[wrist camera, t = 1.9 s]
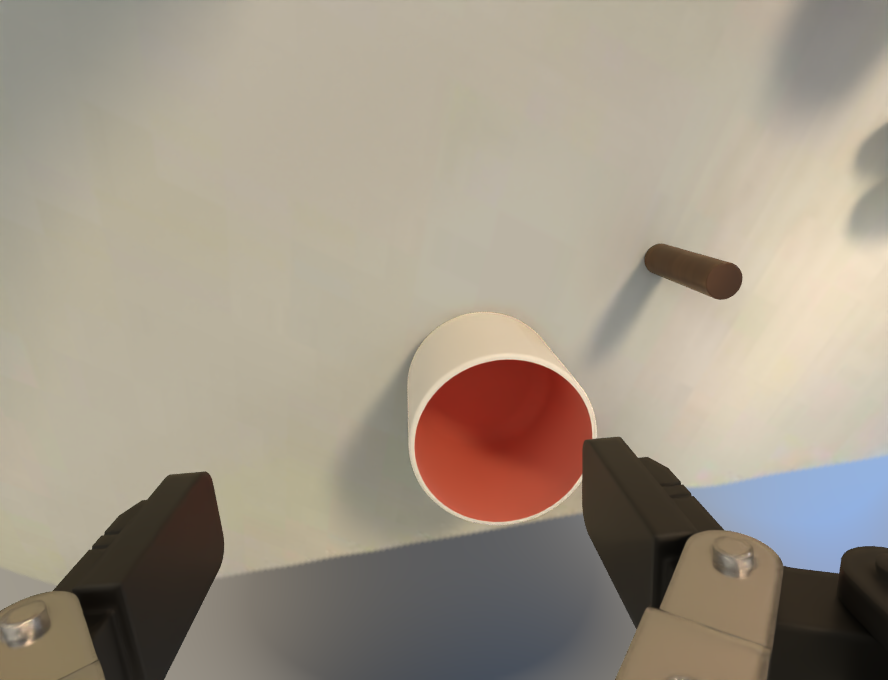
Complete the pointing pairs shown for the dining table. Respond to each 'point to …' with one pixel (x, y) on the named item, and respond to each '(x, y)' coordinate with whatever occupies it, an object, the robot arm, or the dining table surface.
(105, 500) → the dining table surface
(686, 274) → the post
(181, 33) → the dining table surface
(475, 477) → the cup
